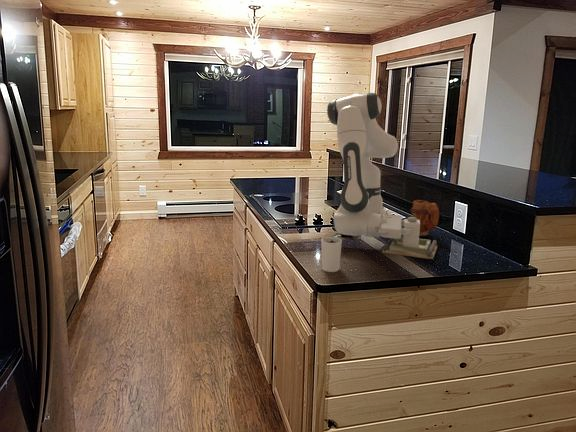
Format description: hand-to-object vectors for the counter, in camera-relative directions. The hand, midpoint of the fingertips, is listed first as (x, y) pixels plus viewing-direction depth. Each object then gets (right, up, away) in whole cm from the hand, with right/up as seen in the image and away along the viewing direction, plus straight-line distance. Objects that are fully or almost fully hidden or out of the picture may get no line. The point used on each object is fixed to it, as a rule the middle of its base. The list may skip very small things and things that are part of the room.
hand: (414, 228), depth 172 cm
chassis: (-1, -8, +2) cm, 9 cm away
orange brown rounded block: (+9, -4, +19) cm, 22 cm away
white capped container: (-1, -7, +2) cm, 8 cm away
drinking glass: (-32, -13, -17) cm, 39 cm away
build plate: (-22, -4, +20) cm, 31 cm away
